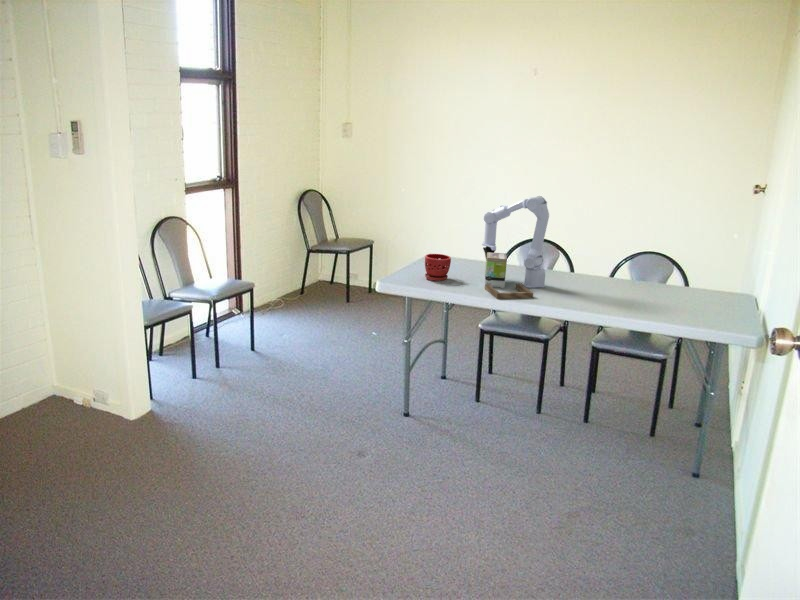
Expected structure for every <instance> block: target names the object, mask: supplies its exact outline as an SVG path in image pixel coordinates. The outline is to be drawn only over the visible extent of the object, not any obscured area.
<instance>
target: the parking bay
mask: <svg viewBox="0 0 800 600" xmlns="http://www.w3.org/2000/svg"><path fill="white" fill-rule="evenodd" d="M484 290H485V291H486V292H488V293H489V294H490V295H491V296H493V297H494V298H495V299H496V300H499V299H500V300H506V299H507V300H508V299H509V298H512V299H533V298H534V292H533V291H532V290H530V289H529V288H527V287H525V286H524V285H522V284H521V283H520V282H519V283H515V290H517V292H516V291H514V292H513V291H512V292H511V291H510V292H509V291H507V292H499V291H498V290H497V289H496V288H495V287H492V286H490V285H489V284H485V283H484ZM518 290H519V291H518Z"/></svg>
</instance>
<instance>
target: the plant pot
mask: <svg viewBox="0 0 800 600" xmlns="http://www.w3.org/2000/svg"><path fill="white" fill-rule="evenodd" d="M451 262H452V258H451V256H449V255H446V254H442V253H428V254H426V255H425V256H424V268H425V272H426V273H425V274H424V277H425V278H426V279H428V280H430V281H433V280H434V281H435V282H438V281H439V282H441V281H442V282H443V281H445V280H447V279H448V273H449V272H450V268H451ZM434 281H433V282H434Z"/></svg>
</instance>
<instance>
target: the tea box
mask: <svg viewBox="0 0 800 600" xmlns="http://www.w3.org/2000/svg"><path fill="white" fill-rule="evenodd" d="M507 257H508V256H507V253H505V252H494V253H491V252H487V258H486V257H485V271H484V285H485V284H489V285H490V286H492V287H493V288H499V287H500V288H502V289H504V288H505V285H506V275H507V263H508V258H507Z"/></svg>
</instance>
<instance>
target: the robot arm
mask: <svg viewBox="0 0 800 600" xmlns="http://www.w3.org/2000/svg"><path fill="white" fill-rule="evenodd" d="M522 209H525V210H526V209H528V211H530V212H531V213H532V214H534V215H535V217H536V222H535V227H534V232H533V237H532V241H531V245H530V249H529V251H528V253H527V255H526V256H525V259H524V261H523V265H524V267H525V272H524V282H521V283H520V284H521V285H522V286H524V287H525V288H527V289H530V288H531V289H532V288H535V289H536V288H545V287H546V286H545V282H546V270H545V268H542V267H541V266H542V265H543V264H544V258H543V255H544V252H543V251H542V249H543V247H544V246H543V244H544V240H545V237H546V232H547V227H548V222H549V218H550V212H549V209H548V201H547V200H546V199H545V197H543V196H541V195H538V196H533V197H529V198H525V199H522V200H520V201H518V202H516V203H514V204H511V205H509V206H508V205H500V206H499V207H498V208H493V209H491V210H492V211H488V212H486V213H485V214H484V216H483V220H484V222H485V226H484V239H483V243H481V245H482V246H484V247H483V248H482V249H483V252H484V257H485V259H486V258H487V252H491V253H496V250H497V246H496V243H497V242H496V241H497V240H496V239H497V225H498V222H499V221H501V220H504V219H506V218H508V217H511V214H512V213H514V212H516V211H519V210H522Z"/></svg>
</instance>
